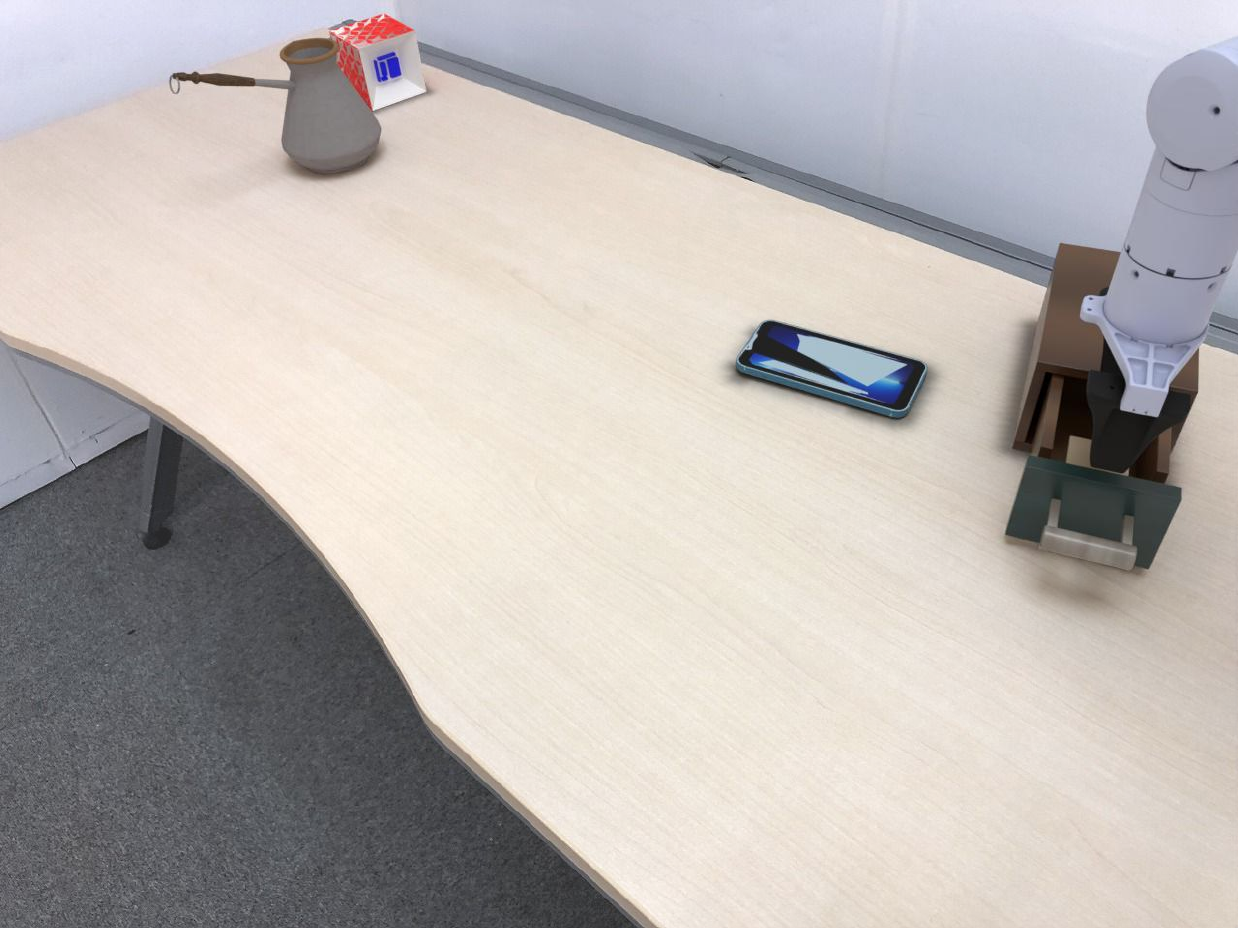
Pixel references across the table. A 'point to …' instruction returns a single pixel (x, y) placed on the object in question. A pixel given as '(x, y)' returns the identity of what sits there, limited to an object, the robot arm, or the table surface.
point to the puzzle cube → (380, 60)
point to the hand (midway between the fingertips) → (1111, 428)
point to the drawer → (1090, 489)
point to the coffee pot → (314, 107)
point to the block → (1080, 453)
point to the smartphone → (833, 367)
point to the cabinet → (1077, 335)
